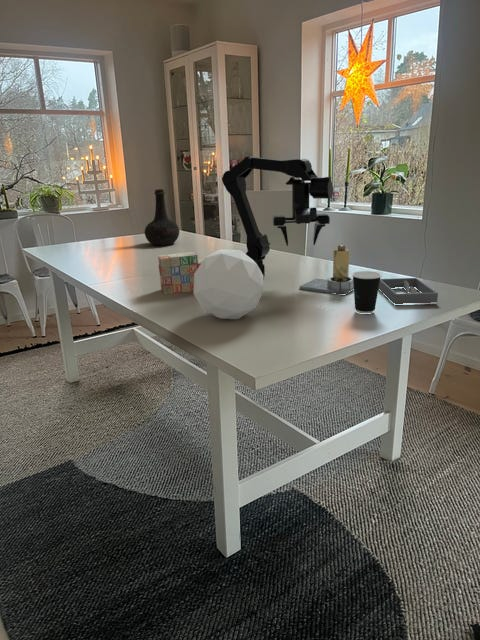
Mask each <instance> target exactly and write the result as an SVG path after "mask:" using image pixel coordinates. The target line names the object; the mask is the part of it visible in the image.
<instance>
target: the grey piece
mask: <svg viewBox="0 0 480 640" xmlns="http://www.w3.org/2000/svg"><path fill="white" fill-rule="evenodd" d="M353 289H354V285H353V277H351V276H348V281H345V282H337V281H333V276H330V277H329V278H327V279H323V278H314V279H312V280H309V281H307V282H305V283H303V284H302V285H299V290H303V291H310V292H318V293H323V292H326V293H325V294H330V293H336V294H335V295H337V294H346V293H348V292H349V291H351V290H353ZM353 291H354V290H353ZM351 292H352V291H351ZM349 293H350V292H349ZM349 293H348V294H349ZM346 295H347V294H346Z"/></svg>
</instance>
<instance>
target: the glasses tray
mask: <svg viewBox="0 0 480 640" xmlns="http://www.w3.org/2000/svg"><path fill="white" fill-rule="evenodd" d="M404 280H405V281H407V282H408V283H409V287H411V286H412V287H416V288H417V289H418V290H419V291H421V292H422V293H419V292H416V293H411V292H410V293H407V292H405V293H397V292H396V291H394V289H391V288H395V287H404V283H400V282H404ZM395 283H398V284H395ZM391 284H393V285H391ZM379 289H380V290H381V291H382V292H383V293H384V294H385V295H386V296H387V297H388V298H389V299H390V300H391V301H392V302H393V303H395V304H403V303H431V302H437V303H438V299H439V297H438V296H439V293H438V291H436V290H435V289H433V288H432V287H430V286H429V285H427V284H426V283H425V282H423V281H421V280H420V279H419V278H417V277H403V278H401V277H400V278H399V277H398V278H380V283H379Z"/></svg>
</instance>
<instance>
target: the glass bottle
mask: <svg viewBox="0 0 480 640" xmlns="http://www.w3.org/2000/svg"><path fill="white" fill-rule="evenodd" d="M153 194H154V195H155V210H154V211H155V212H154V217H153V220H152V221H151V222H149V223H148V224H147V225H146V226H145V228H144V236H145V239H146V240H147V241H148V242H149V243H150V244H151V245H153V246H169V245H172V244H174V243H175V242H176V241H177V240H178V238H179V235H180V227H179V226H178V224H177V223H176V222H174V221H172V220H171V219H169V217H168V214H167V213H168V212H167V208H166V207H167V206H166V201H165V194H166V192H165V190H164V189H161V188H160V189H159V188H158V189H154V193H153Z"/></svg>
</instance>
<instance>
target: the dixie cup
mask: <svg viewBox="0 0 480 640" xmlns="http://www.w3.org/2000/svg"><path fill="white" fill-rule="evenodd" d="M351 276H352V278H353V285H354V290H353V297H354V309H355V312H356V311H357V312H359V313H372V312H373V311H375V309H376V304H377V300H378V293H379V290H378V289H379V283H380V279H381V278H382V276H383V275H382V273H380V272H378V271H370V270H361V271H360V270H359V271H354V272H352V273H351ZM373 313H374V312H373Z"/></svg>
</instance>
